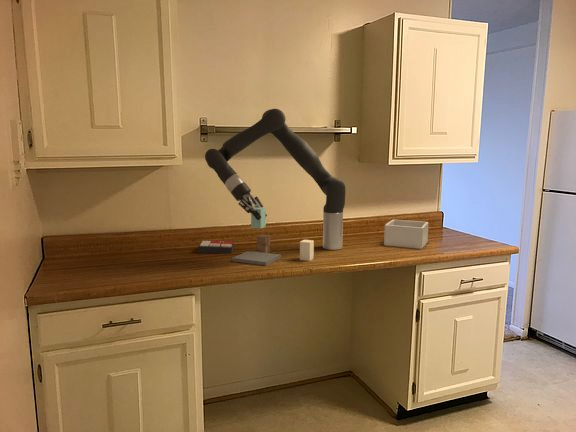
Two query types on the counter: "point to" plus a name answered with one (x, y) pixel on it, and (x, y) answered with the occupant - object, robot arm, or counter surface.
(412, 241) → the box
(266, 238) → the walnut block
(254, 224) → the teal block
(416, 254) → the counter surface
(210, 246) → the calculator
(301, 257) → the cream block
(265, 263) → the grey flat slab
